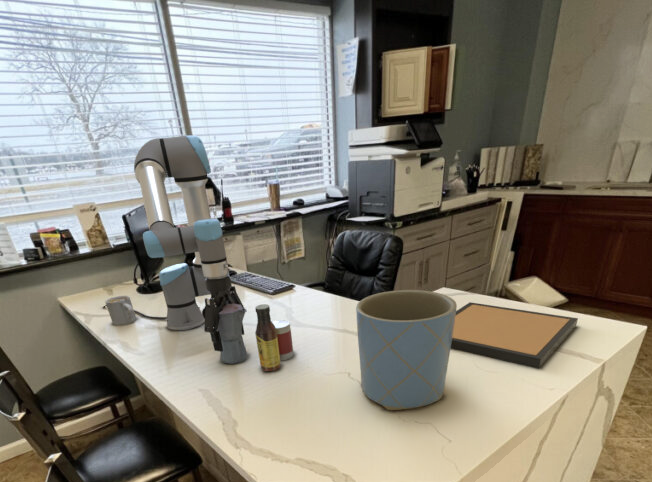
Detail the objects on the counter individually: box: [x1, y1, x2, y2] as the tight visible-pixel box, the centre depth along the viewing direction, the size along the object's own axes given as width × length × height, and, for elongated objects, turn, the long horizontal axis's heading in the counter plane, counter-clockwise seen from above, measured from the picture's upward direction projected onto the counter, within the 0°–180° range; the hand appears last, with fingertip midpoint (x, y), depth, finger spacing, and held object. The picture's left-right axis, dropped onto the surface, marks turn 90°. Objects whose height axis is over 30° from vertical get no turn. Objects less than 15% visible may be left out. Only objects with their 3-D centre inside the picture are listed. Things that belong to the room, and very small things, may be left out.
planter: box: [355, 289, 458, 411], centre depth 101 cm, size 23×23×24 cm
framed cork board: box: [450, 301, 579, 369], centre depth 132 cm, size 36×3×35 cm
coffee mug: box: [105, 295, 137, 326], centre depth 176 cm, size 13×10×10 cm
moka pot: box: [201, 299, 248, 365], centre depth 130 cm, size 10×15×20 cm, turn 79°
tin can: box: [271, 319, 294, 361], centre depth 130 cm, size 7×7×11 cm
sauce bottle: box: [255, 303, 281, 372], centre depth 121 cm, size 6×6×20 cm
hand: (230, 342), depth 132 cm, fingers open, 13 cm apart
